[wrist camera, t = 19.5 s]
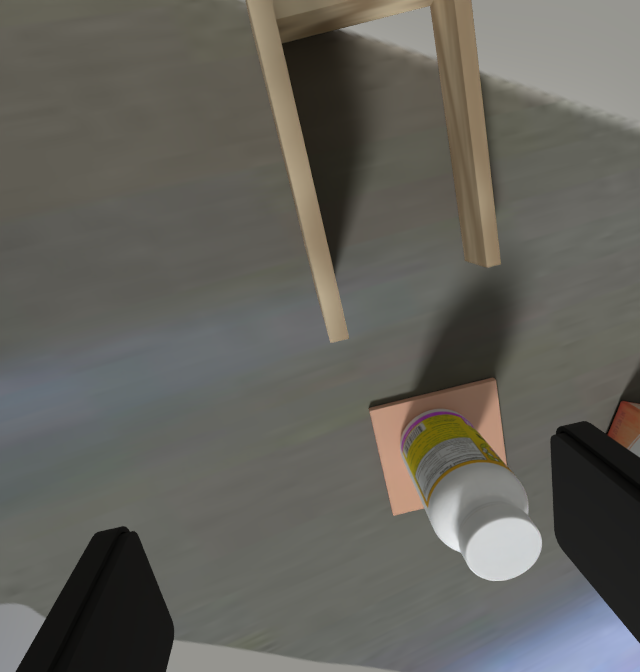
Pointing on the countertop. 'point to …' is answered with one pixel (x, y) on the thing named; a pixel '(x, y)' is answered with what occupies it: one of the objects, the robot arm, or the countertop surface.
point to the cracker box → (627, 426)
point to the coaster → (393, 417)
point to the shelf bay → (460, 112)
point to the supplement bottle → (470, 495)
